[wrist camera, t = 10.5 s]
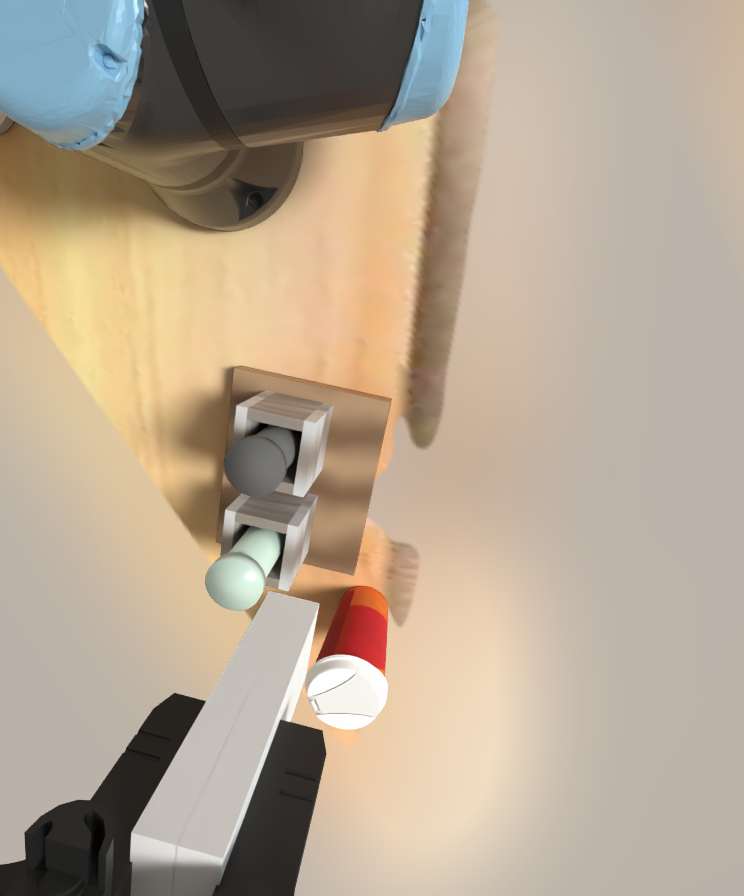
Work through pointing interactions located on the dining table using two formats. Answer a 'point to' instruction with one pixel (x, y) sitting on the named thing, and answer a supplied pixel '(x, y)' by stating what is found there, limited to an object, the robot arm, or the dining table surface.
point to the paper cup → (352, 662)
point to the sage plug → (244, 569)
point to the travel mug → (5, 122)
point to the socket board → (306, 470)
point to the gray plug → (262, 460)
